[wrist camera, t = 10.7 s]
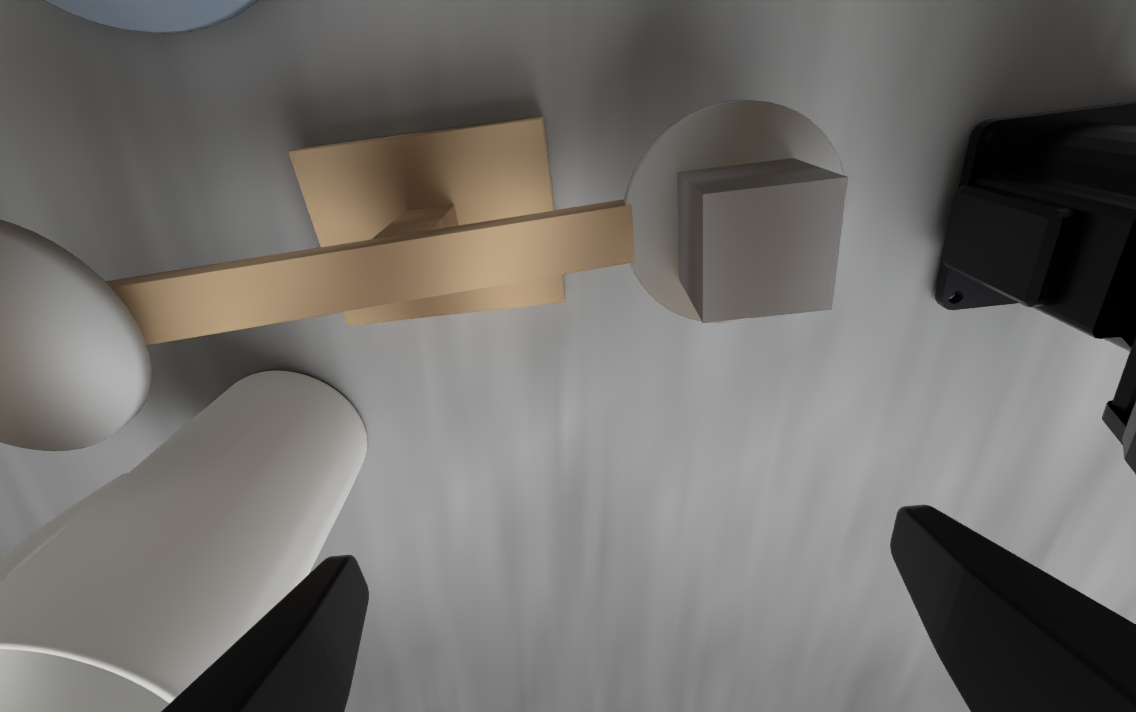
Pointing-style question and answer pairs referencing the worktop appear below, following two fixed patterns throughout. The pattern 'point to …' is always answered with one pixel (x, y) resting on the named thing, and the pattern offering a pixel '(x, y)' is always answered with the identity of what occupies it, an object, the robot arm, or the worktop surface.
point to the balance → (438, 253)
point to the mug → (177, 551)
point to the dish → (155, 13)
